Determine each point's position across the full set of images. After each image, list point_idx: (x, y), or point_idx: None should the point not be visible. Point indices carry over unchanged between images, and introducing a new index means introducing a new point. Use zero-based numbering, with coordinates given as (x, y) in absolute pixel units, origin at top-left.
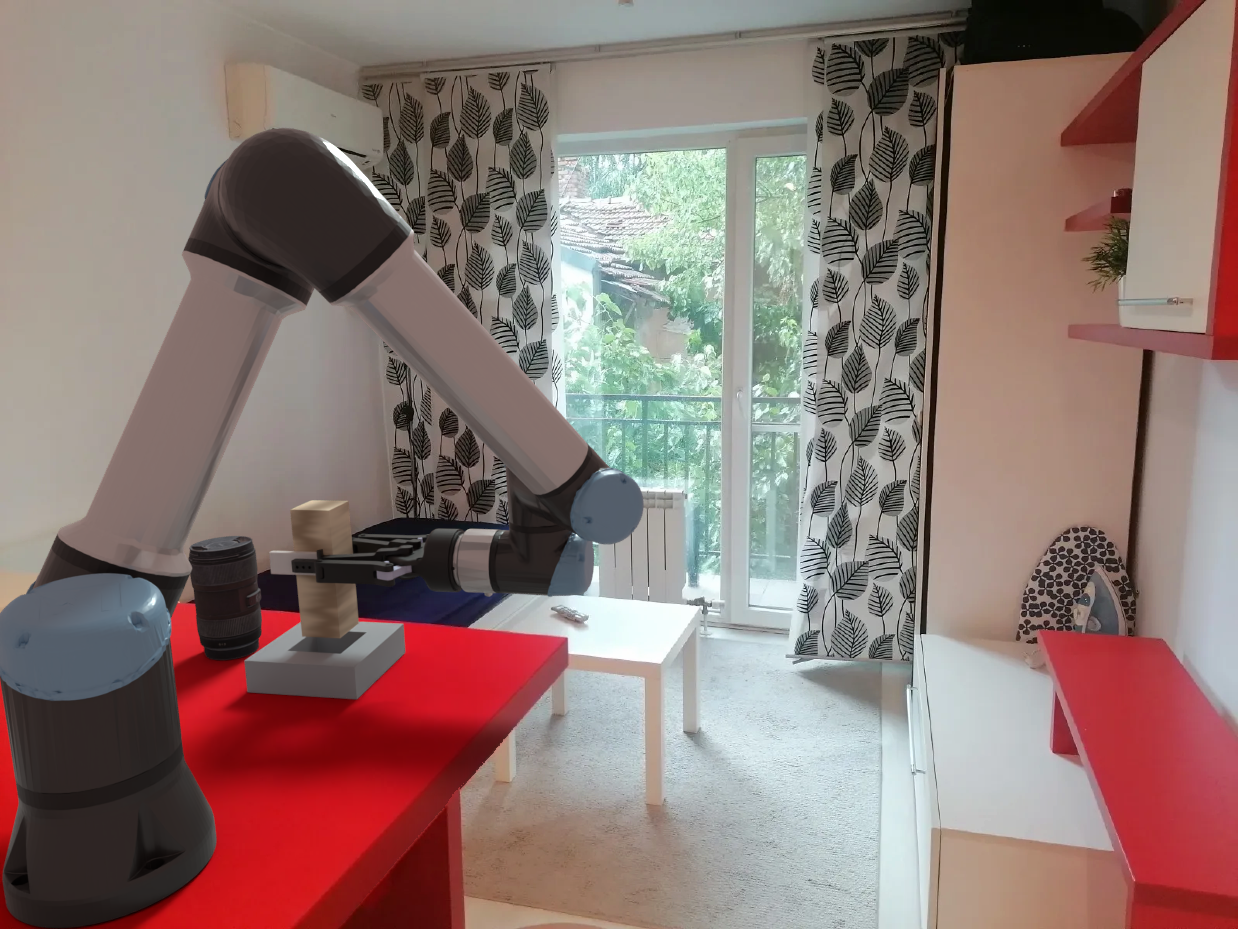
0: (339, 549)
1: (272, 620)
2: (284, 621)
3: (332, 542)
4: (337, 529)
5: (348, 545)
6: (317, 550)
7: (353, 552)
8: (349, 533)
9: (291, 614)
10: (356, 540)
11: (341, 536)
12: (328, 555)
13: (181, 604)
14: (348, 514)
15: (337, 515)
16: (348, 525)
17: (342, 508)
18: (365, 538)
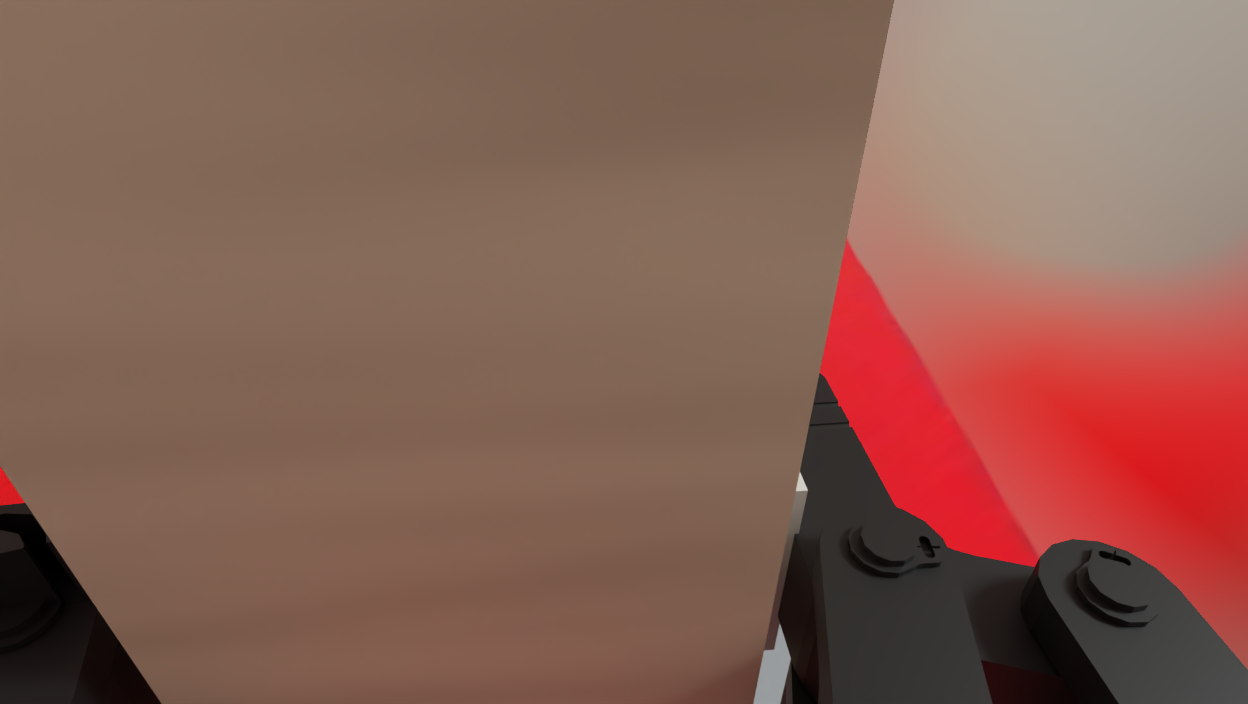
0: (368, 657)
1: (887, 423)
2: (902, 453)
3: (104, 564)
4: (260, 417)
5: (646, 647)
6: (5, 511)
7: (817, 683)
8: (727, 527)
9: (959, 441)
10: (859, 643)
11: (429, 532)
12: (46, 671)
13: (846, 243)
14: (792, 227)
15: (231, 138)
16: (725, 419)
17: (511, 9)
18: (1079, 678)
